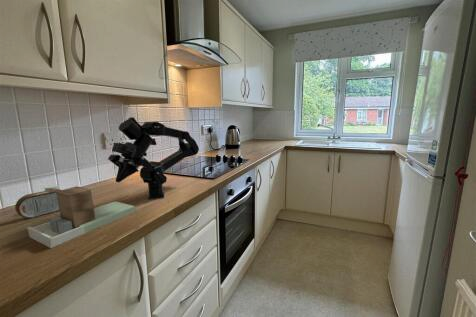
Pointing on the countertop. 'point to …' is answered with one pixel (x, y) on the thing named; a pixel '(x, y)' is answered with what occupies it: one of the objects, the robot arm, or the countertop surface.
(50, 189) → the pill bottle
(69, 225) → the slate tile
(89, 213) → the walnut push block
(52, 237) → the cream tray
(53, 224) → the slate tile
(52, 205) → the tin
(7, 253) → the countertop surface
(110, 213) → the sage board
